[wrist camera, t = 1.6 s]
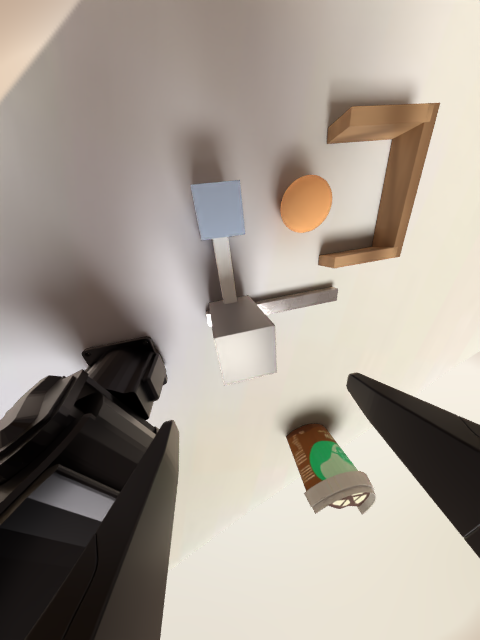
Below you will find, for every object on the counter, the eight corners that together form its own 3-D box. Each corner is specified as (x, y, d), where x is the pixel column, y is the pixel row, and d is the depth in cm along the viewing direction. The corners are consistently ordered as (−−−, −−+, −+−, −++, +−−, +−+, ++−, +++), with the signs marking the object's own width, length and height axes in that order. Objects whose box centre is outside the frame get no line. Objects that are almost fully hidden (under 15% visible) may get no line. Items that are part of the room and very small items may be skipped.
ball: (274, 236, 17) (294, 234, 13) (272, 185, 15) (294, 168, 12) (311, 230, 17) (340, 228, 14) (314, 181, 16) (348, 163, 12)
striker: (215, 333, 19) (224, 385, 12) (187, 201, 14) (173, 159, 7) (249, 325, 20) (276, 372, 13) (234, 195, 15) (267, 152, 7)
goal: (318, 265, 19) (334, 268, 17) (328, 127, 14) (351, 106, 12) (377, 254, 20) (399, 256, 18) (405, 123, 15) (440, 102, 13)
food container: (344, 426, 34) (394, 492, 25) (323, 446, 36) (364, 514, 27) (302, 412, 29) (346, 486, 20) (280, 435, 31) (312, 514, 22)
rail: (208, 322, 19) (209, 326, 18) (206, 311, 19) (206, 314, 18) (330, 297, 21) (336, 300, 20) (332, 286, 20) (338, 288, 20)
